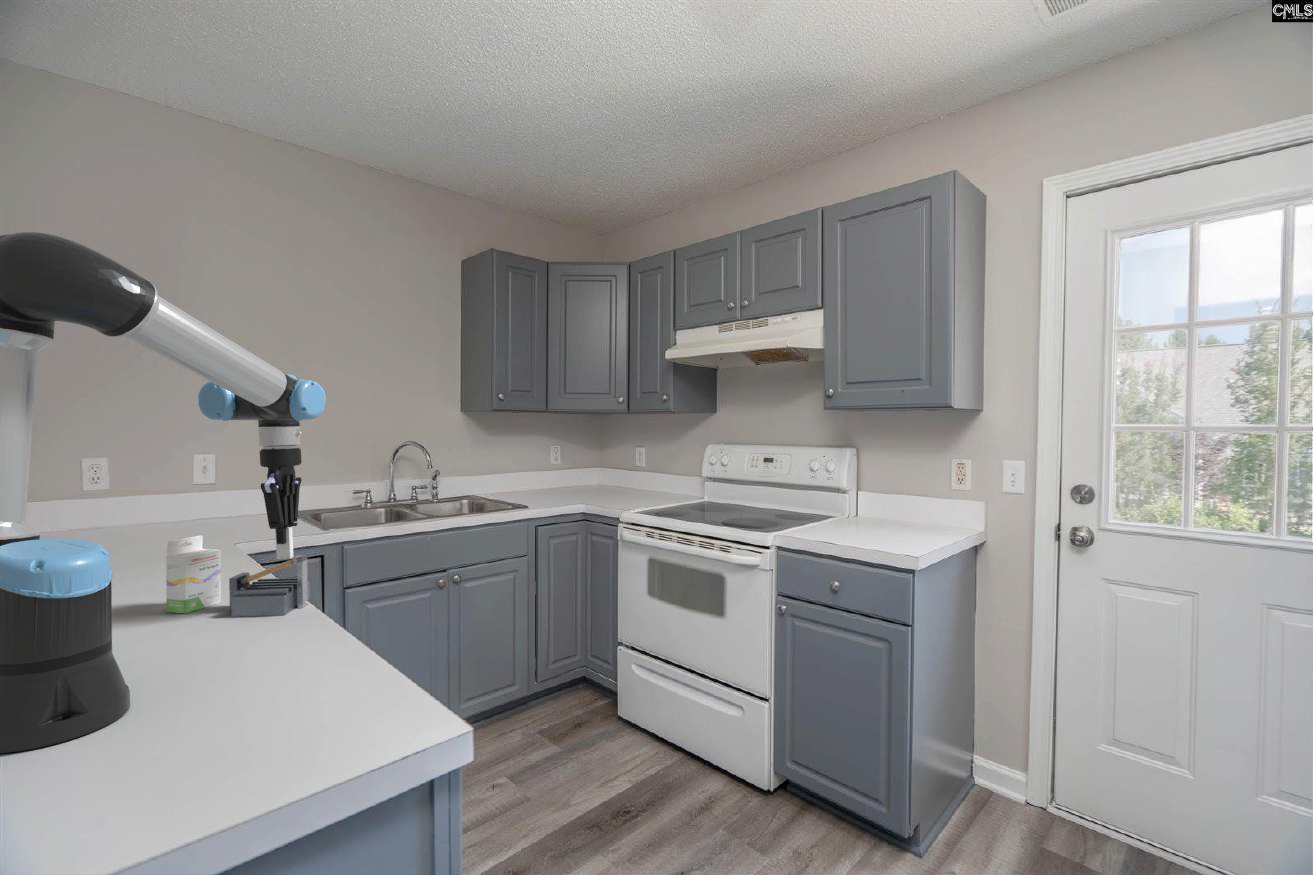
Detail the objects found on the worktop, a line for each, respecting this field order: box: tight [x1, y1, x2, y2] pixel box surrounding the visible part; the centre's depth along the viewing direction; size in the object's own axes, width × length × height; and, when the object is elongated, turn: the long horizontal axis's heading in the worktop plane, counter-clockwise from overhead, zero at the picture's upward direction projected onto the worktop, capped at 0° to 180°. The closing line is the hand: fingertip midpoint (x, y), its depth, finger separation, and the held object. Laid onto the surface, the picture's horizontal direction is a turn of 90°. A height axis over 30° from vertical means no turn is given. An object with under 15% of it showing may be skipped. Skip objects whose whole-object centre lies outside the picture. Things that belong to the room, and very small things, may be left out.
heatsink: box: [228, 554, 311, 618], centre depth 132 cm, size 12×14×11 cm
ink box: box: [165, 535, 222, 614], centre depth 132 cm, size 9×5×15 cm, turn 168°
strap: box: [239, 558, 297, 585], centre depth 132 cm, size 4×11×1 cm, turn 97°
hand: (285, 558), depth 132 cm, fingers closed
